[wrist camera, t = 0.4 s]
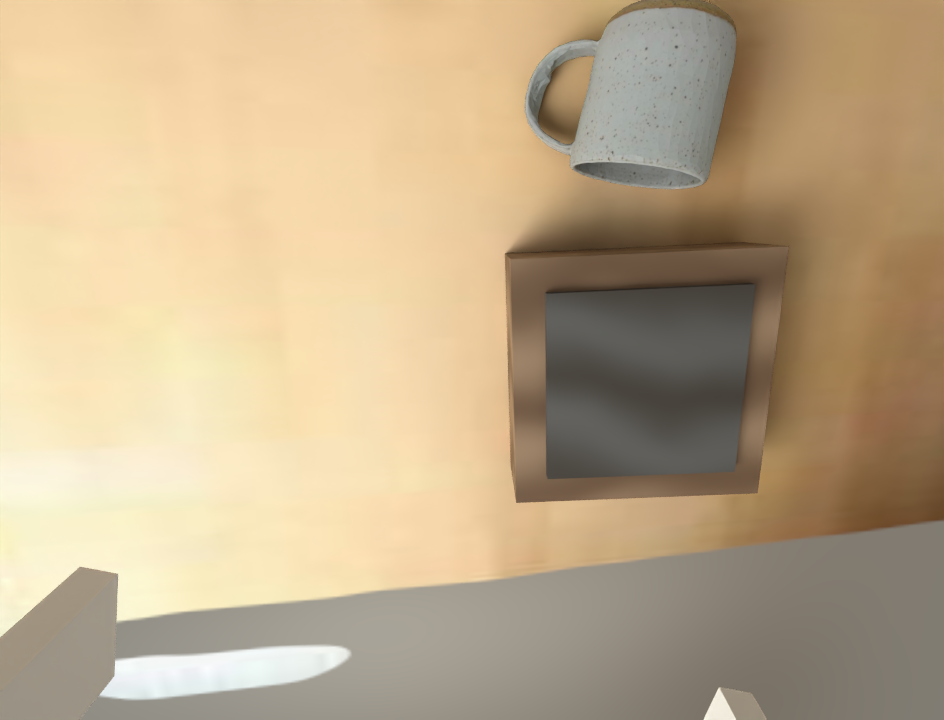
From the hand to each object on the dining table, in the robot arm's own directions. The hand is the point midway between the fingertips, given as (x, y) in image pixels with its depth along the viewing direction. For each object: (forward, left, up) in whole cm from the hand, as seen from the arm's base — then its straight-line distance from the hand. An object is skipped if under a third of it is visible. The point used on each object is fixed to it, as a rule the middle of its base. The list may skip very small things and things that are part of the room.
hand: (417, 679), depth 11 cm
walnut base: (+1, +12, -26) cm, 28 cm away
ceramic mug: (-15, +11, -26) cm, 32 cm away
